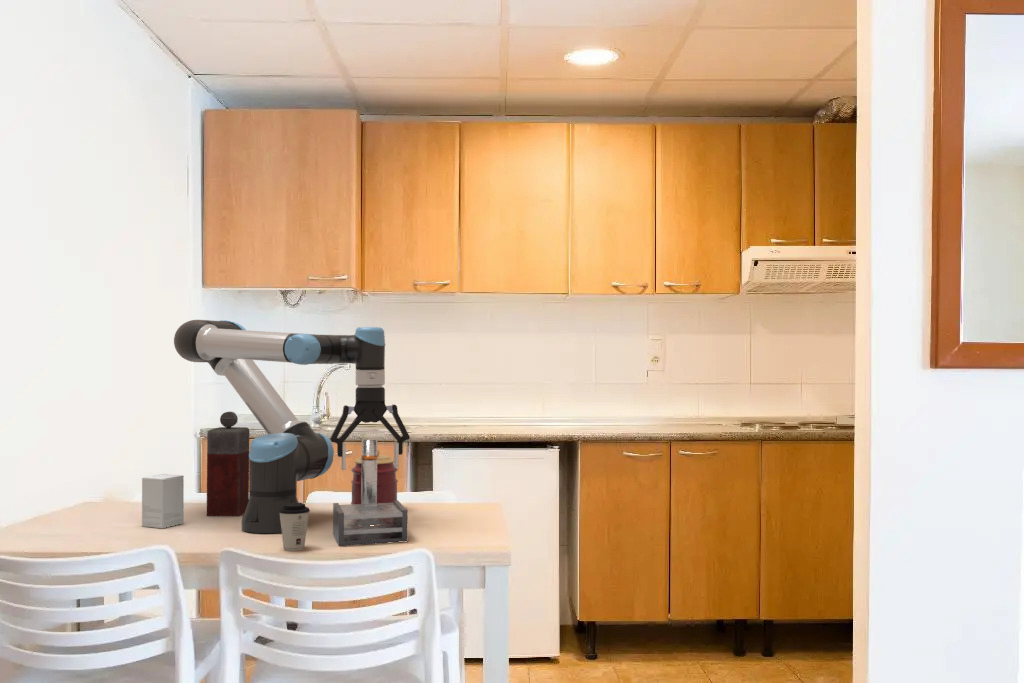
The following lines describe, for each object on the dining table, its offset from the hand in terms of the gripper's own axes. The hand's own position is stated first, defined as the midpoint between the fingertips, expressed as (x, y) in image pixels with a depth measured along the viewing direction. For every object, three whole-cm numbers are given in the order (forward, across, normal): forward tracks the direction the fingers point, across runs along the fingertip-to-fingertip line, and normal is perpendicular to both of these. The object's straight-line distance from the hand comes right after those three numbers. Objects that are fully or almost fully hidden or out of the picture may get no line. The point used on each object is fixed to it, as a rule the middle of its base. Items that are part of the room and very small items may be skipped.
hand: (370, 468), depth 227 cm
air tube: (+14, 0, 0) cm, 15 cm away
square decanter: (+14, -35, +27) cm, 47 cm away
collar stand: (+15, -2, -16) cm, 22 cm away
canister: (+15, +4, +19) cm, 24 cm away
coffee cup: (+15, -20, -23) cm, 34 cm away
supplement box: (+14, -51, +13) cm, 55 cm away
